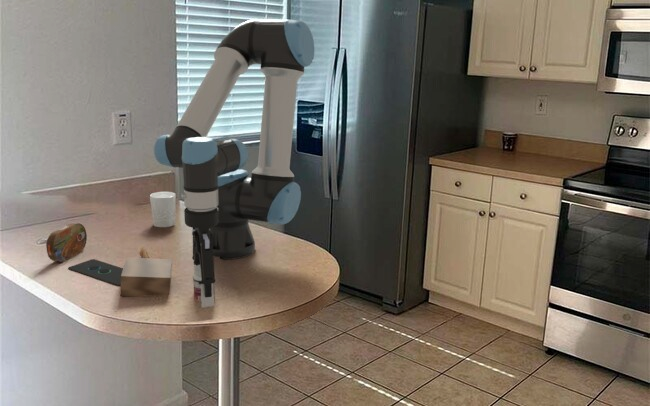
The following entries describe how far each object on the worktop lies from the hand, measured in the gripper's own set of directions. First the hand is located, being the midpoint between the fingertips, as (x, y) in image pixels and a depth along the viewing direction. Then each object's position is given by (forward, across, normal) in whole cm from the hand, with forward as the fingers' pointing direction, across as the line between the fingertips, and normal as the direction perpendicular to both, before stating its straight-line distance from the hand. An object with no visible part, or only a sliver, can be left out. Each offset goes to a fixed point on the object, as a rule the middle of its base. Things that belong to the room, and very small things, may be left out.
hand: (204, 299), depth 142 cm
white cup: (0, -62, -3) cm, 62 cm away
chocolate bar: (+1, -31, -11) cm, 33 cm away
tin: (+1, -40, -31) cm, 51 cm away
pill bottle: (0, 0, 0) cm, 0 cm away
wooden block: (-1, -10, -12) cm, 16 cm away
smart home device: (+1, -23, -21) cm, 31 cm away
